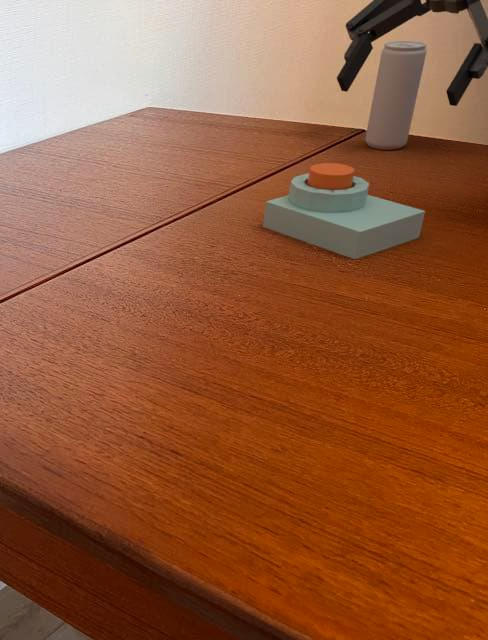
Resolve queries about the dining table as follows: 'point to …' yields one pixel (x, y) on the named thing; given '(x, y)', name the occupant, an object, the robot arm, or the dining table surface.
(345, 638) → the dining table surface
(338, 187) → the button
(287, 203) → the control box
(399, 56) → the beverage can
